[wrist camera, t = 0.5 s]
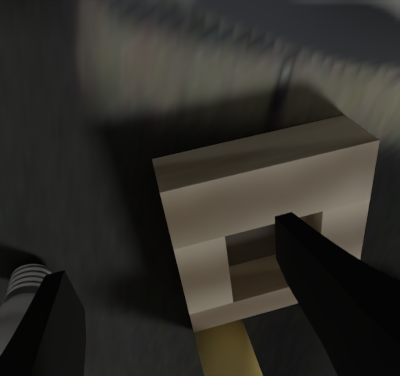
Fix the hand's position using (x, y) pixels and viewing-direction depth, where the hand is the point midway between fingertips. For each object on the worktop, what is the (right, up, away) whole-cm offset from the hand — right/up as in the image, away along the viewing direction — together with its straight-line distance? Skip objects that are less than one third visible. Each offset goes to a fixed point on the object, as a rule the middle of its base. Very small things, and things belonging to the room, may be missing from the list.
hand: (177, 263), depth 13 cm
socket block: (+5, +1, +13) cm, 14 cm away
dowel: (+2, -8, +18) cm, 20 cm away
